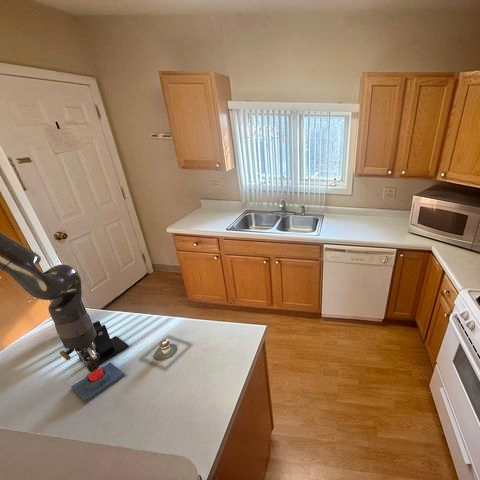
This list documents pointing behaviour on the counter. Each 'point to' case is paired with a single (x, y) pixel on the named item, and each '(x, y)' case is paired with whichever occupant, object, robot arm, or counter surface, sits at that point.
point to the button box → (97, 382)
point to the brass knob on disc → (165, 350)
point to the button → (96, 375)
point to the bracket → (106, 344)
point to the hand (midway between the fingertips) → (93, 369)
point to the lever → (66, 354)
